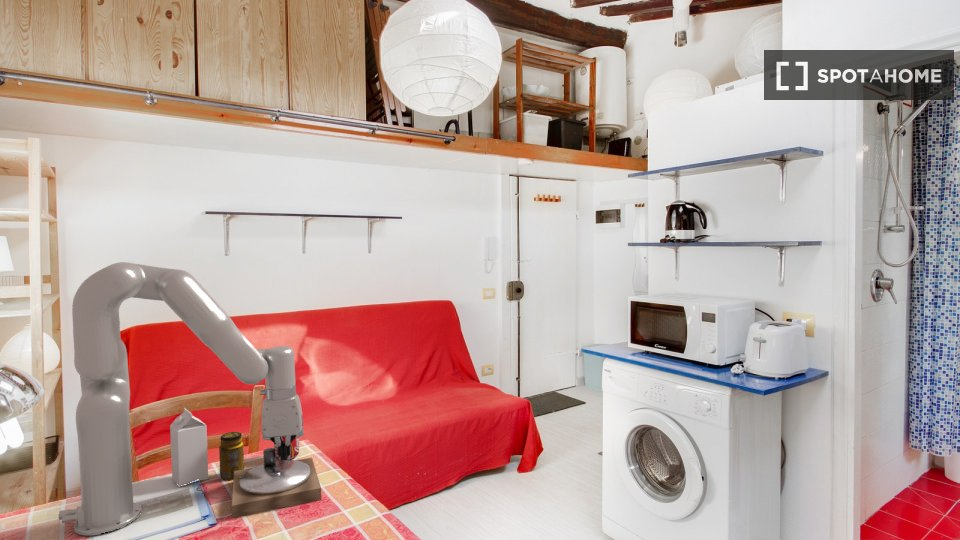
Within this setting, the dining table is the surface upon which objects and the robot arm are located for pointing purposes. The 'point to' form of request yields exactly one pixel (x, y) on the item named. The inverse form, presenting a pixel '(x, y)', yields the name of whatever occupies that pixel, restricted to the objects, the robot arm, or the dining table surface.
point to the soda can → (293, 446)
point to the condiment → (231, 455)
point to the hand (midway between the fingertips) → (284, 458)
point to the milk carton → (188, 449)
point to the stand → (274, 495)
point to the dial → (274, 475)
